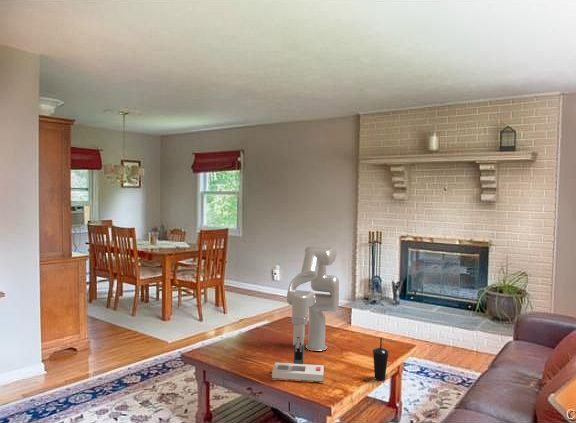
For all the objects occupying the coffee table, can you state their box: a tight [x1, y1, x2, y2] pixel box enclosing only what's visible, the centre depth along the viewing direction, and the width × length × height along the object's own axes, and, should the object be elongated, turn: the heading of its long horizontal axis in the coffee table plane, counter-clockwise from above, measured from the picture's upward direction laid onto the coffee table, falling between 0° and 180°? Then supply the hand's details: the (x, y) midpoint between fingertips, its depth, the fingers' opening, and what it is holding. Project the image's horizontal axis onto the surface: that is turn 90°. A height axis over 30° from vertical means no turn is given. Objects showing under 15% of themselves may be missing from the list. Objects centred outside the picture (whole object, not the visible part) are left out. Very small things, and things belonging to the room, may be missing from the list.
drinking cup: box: [372, 336, 390, 382], centre depth 218 cm, size 8×8×20 cm
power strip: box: [271, 362, 325, 383], centre depth 218 cm, size 12×24×5 cm, turn 84°
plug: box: [293, 342, 305, 364], centre depth 218 cm, size 4×4×9 cm
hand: (298, 357), depth 218 cm, fingers closed on plug, 4 cm apart
